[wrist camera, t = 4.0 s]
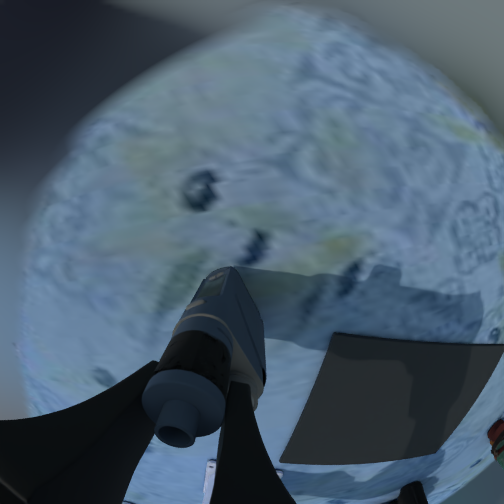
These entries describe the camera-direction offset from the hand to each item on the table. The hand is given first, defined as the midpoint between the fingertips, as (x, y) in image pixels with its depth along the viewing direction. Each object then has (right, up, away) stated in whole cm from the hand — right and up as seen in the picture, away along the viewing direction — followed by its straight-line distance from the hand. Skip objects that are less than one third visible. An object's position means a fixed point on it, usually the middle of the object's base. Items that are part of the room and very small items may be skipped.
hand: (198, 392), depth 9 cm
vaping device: (+1, +2, +9) cm, 9 cm away
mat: (+16, -10, +10) cm, 21 cm away
